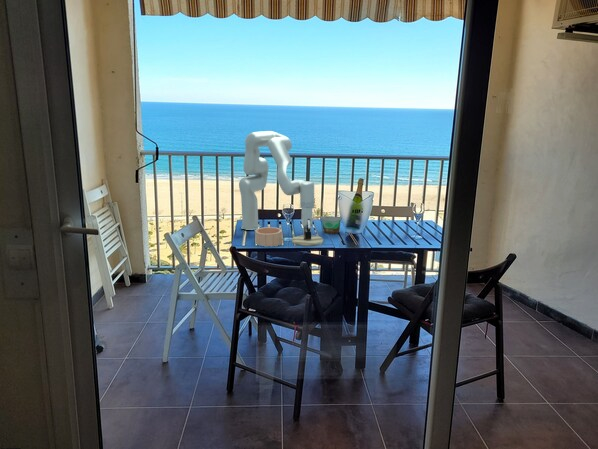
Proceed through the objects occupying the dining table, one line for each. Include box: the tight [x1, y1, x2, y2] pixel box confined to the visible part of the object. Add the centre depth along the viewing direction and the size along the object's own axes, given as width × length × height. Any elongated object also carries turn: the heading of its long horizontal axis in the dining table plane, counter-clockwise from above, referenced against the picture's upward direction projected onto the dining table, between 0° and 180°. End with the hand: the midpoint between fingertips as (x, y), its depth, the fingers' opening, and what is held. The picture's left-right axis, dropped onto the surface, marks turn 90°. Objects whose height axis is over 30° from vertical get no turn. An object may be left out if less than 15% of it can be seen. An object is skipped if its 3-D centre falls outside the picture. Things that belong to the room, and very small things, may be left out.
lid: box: [291, 229, 324, 247], centre depth 239 cm, size 17×17×6 cm
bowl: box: [254, 226, 283, 247], centre depth 237 cm, size 14×14×7 cm
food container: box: [320, 215, 343, 235], centre depth 254 cm, size 12×6×10 cm, turn 82°
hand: (307, 237), depth 239 cm, fingers closed on lid, 4 cm apart
